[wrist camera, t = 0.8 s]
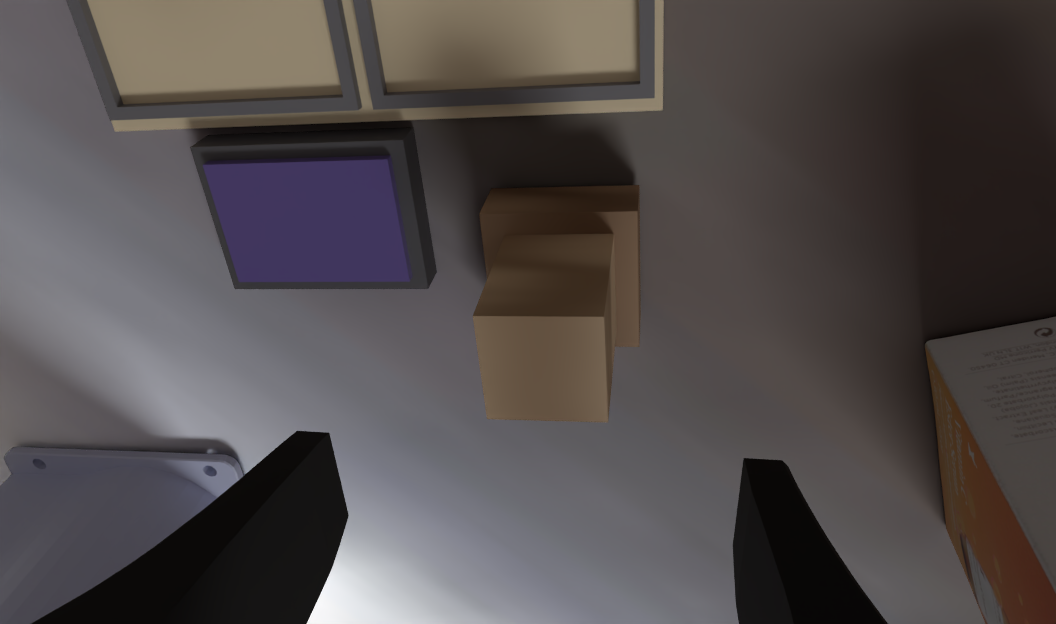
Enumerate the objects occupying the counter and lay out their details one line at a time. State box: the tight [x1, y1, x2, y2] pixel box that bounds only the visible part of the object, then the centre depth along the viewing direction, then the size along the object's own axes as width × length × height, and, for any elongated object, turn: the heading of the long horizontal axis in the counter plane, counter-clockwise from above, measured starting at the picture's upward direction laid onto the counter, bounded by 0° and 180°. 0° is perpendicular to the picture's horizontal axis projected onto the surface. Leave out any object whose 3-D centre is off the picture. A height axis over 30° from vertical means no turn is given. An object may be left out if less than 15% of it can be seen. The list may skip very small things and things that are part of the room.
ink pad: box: [190, 128, 437, 289], centre depth 22 cm, size 6×4×1 cm
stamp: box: [473, 185, 641, 422], centre depth 20 cm, size 4×4×6 cm
